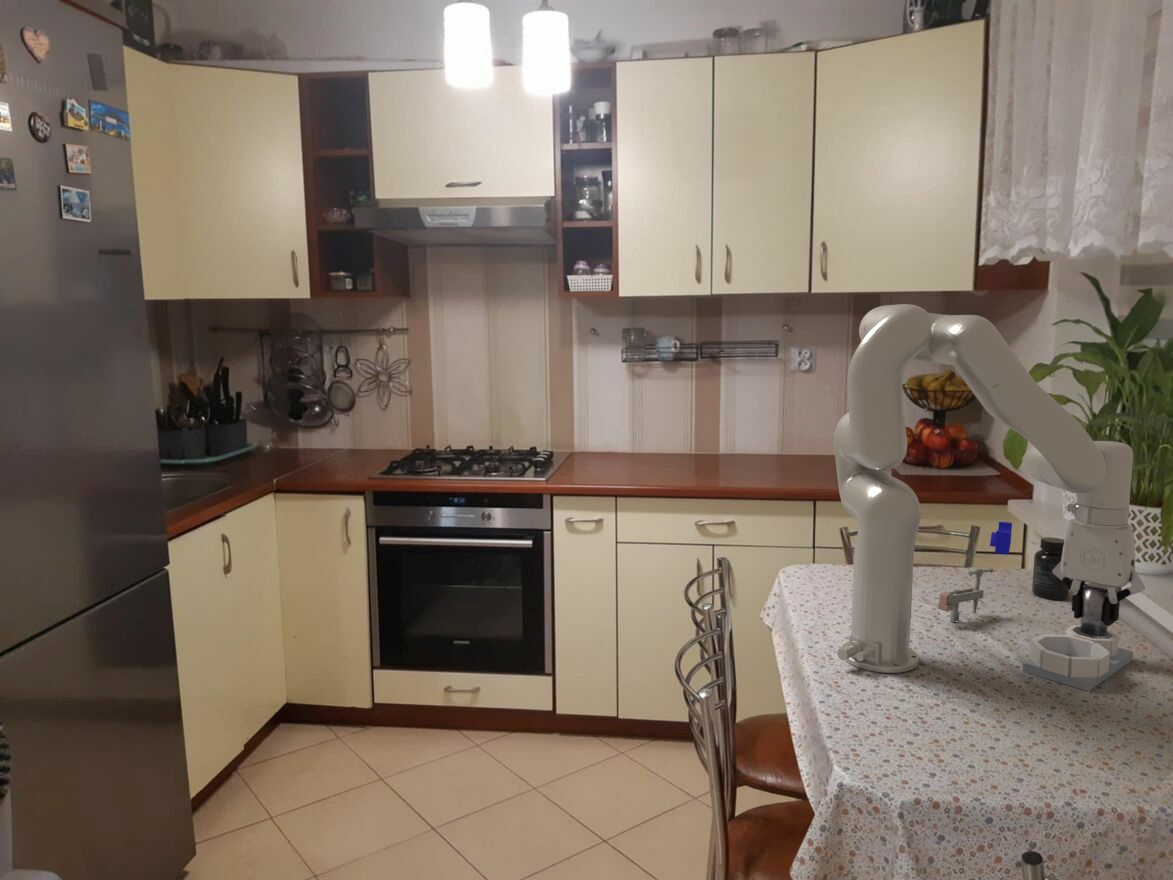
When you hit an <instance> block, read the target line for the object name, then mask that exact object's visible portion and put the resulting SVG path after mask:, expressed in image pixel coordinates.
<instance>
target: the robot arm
mask: <svg viewBox="0 0 1173 880" xmlns="http://www.w3.org/2000/svg"><path fill="white" fill-rule="evenodd" d="M858 333H859V339H860V343H859V345H858V347H856V350H855V351H854V354H853V355H852V358H851V361H850V363H849V367H848V372H847V399H848V401H847V403H848V404H847V405H848V412H847V413H845V414H844V415H843V416H842V417H841V418H840V419H839V421H838V423H837V424H836V427H835V430H834V434H833V435H834V437H833V451H834V459H835V465H836V466H835V467H836V468H835V469H836V476H837V477H836V479H837V484H838V491H839V493H838V494H839V499H840V501H841V503H842V507H843V508H844V510H845V511H846V513H848V514H849V516H851V517H852V518H853V519H855V520H857V522H858V528H857V529H858V530H857V535H856V539H855V544H854V548H853V560H852V561H853V563H852V564H853V565H852V569H853V573H852V575H853V576H852V598H851V599H852V603H851V626H850V635H849V639H848V641H847V642H845V643H844V644H842V645H841V647H840V648H839V649H837V652H836V653H837V654H836V655H837V658H839V660H840V661H845V662H846V663H848V664H849V665H852V666H853V667H855V668H859V669H862V670H865V671H870V672H875V673H883V674H896V673H897V674H898V673H899V674H900V673H906V672H910V671H912V670H914V669H917V667H918V665H919V660H920V659H919V657H920V656H919V654H918V653H917V652H916V651H915V650H914V649H912V648H910V644H911V643H910V641H911V623H912V621H911V620H912V599H913V581H914V561H915V560H914V557H915V547H916V541H917V535H918V532H919V527H920V523H921V505H920V501H919V499H918V496H917V494H916V493H915V492H914V490H913V489H912V488H911V487H910V485H908V484H906V483H905V482H904V481H902V480H900V479H898V478H896V477H894V476H893V475H892V469H895V468H896V467H898V466H899V465H900V464H901V463H902V462H903V461H904V459H905V457H906V455H907V453H908V452H907V451H908V435H907V428H906V418H905V408H904V399H903V394H904V393H903V381H904V376H905V373H906V369H907V367H908V366H909V365H910V363H911V362H912V361H917V362H923V363H932V364H941V365H949V366H953V368H954V369H955V370H956V372H957V373H958V375H959V376H960V378H962V380H963V381H964V382H965V384H966V385H967V387H968V388H969V389H970V391H971V392H972V393H973V395H974V396H975V398H976V399H977V400H978V401H979V403H980V404H981V405H982V407H983V409H984V410H985V411H986V412H987V414H989V415H990V416H992V417H993V418H994V419H995V420H997V422H999V423H1001V424H1002V425H1004V426H1006V427H1008V428H1010V429H1011V430H1013V431H1014V432H1016V433H1017V434H1019V435H1021V437H1023V438H1024V439H1025V440H1027V442H1029V443H1030V444H1031V446H1030V447H1029V448H1027V450H1026V452H1025V455H1024V459H1023V465H1024V468H1025V470H1026V471H1027V473H1028V474H1029V475H1030V476H1031V477H1032V478H1033V479H1034V480H1036V481H1038V482H1040V483H1042V484H1043V483H1044V484H1046V485H1049V486H1052V487H1055V488H1058V489H1061V490H1064V491H1066V492H1070V493H1073V494H1076V502H1074V503H1068V504H1067V506H1066V511H1067V512H1071V513H1072V514H1074V515H1073V517H1074V518H1071V519H1069V521H1068V524H1067V529H1066V533H1065V536H1064V546H1063V551H1062V558H1061V561H1060V563H1059V564H1058V565H1057V566H1056V567H1055V568H1054V569H1053V570H1052V572H1053V574H1054V575H1056V576H1057V577H1058V578H1059V579H1060V580H1062V581H1063V583H1064V584H1065V585H1066V586H1067V587H1068V589H1069V594H1071V595H1072V600H1071V602H1072V603H1071V611H1072V612H1073V618H1074V619H1077V620H1078V619H1081V608H1082V593H1083V584H1086V583H1094V584H1099V585H1103V586H1107V588H1108V595H1109V599H1108V602H1106V603H1105V614H1104V624H1105V625H1106V626H1108V627H1110V626H1113V624H1114V623H1116V622H1117V621H1118V620H1119V619H1120V618H1119V616H1120V605H1121V604H1120V603H1121V601H1122V600H1125V599H1126V598H1128V597H1129V596H1133V595H1136V594H1138V593H1141V592H1143V591H1145V590H1146V585H1145V584H1144V582H1143V581H1142V578H1140V575H1138V572H1137V571H1136V547H1135V545H1136V544H1135V536H1134V530H1133V526H1132V525H1130V524H1129V515H1130V514H1129V512H1130V502H1131V501H1130V500H1131V498H1130V497H1131V487H1132V485H1131V484H1132V476H1133V475H1132V473H1133V461H1134V460H1133V459H1134V457H1133V455H1134V453H1133V449H1132V447H1131V446H1130V445H1129V444H1126V443H1123V442H1119V441H1111V440H1093V439H1092V438H1091V436H1090V435H1089V433H1088V432H1087V431H1086V429H1085V428H1084V427H1083V426H1082V424H1081V423H1080V422H1079V421H1078V420H1077V419H1076V418H1075V416H1073V415H1072V414H1071V413H1070V412H1069V411H1068V410H1067V409H1066V408H1065V407H1063V406H1062V405H1061V404H1060V403H1059V402H1057V401H1056V400H1055V398H1054V397H1052V396H1051V394H1049V393H1048V392H1047V391H1045V390H1044V389H1043V388H1042V387H1041V386H1040V385H1039V384H1038V383H1037V382H1036V380H1034V378H1033V376H1031V374H1030V373H1029V372H1028V370H1027V369H1026V368H1025V366H1024V364H1023V363H1022V362H1021V360H1020V359H1019V358H1018V356H1017V355H1016V353H1015V352H1014V350H1012V348H1011V347H1010V345H1009V344H1008V342H1007V340H1005V338H1004V337H1003V336H1002V335H1001V333H1000V332H999V330H998V329H997V328H996V326H995V325H994V324H993V323H992V322H991V321H990V320H989V319H987V318H985V317H983V316H980V315H976V314H954V315H953V314H939V313H931V312H928V311H927V310H926V309H925V308H922V307H921V306H918V305H915V304H910V303H909V304H908V303H900V304H899V303H898V304H887V305H880V306H877V307H875V308H873V309H871V310H870V311H868V312H867V313H866V314H865V315H864V316H863V318H862V320H861V321H860V324H859V329H858ZM1129 583H1130V584H1131V585H1130V586H1127V587H1126V588H1123V587H1125V586H1126V585H1128V584H1129Z"/></svg>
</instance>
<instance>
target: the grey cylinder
mask: <svg viewBox="0 0 1173 880" xmlns="http://www.w3.org/2000/svg"><path fill="white" fill-rule="evenodd" d="M1108 599H1109V595H1108V588H1107V586H1103V585H1099V584H1094V583H1089V582H1086V584H1083V593H1082V608H1081V618H1080V624H1079V625H1080V631H1081V632H1082V633H1084V634H1087V635H1091V636H1106V635H1107V632H1108V630H1109V626H1106V625H1105V624H1104V614H1105V603H1106V602H1108Z"/></svg>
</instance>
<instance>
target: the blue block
mask: <svg viewBox="0 0 1173 880" xmlns="http://www.w3.org/2000/svg"><path fill="white" fill-rule="evenodd" d="M1012 529H1013V522H1010V521H1007V522H1006V521H998V528H997V530H996V532H994V531H993V532H991V535H990V542H989V547H994V554H1001V555H1009V553H1010V547H1011V544H1012V533H1013V532H1012Z"/></svg>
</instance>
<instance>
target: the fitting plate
mask: <svg viewBox="0 0 1173 880" xmlns="http://www.w3.org/2000/svg"><path fill="white" fill-rule="evenodd" d="M1065 630H1066V631H1065V634H1049V633H1048V634H1039V635H1037V636H1036V637H1033V638H1032V639H1030V645H1029V658H1028V659H1027V660H1025V661H1023V662H1022V672H1024V673H1027V674H1030V675H1033V676H1036V677H1041V678H1043V679H1047V680H1050V681H1053V682H1056V683H1059V684H1062V685H1067V686H1068V687H1069V686H1070V687H1073V688H1076V689H1078V690H1079V689H1080V690H1083V691H1086V692H1090V691H1091V690H1093V689H1094V688H1096V687H1097V686H1098V685H1100V684H1101V683H1102V682H1104V681H1105V680H1107V679H1109V678H1110V677H1111V676H1112V675H1113V674H1115V673H1116V672H1118V671H1120V670H1121V669H1122V668H1123V667H1125V666H1126V665H1127V664H1129V663H1131V662H1132V661H1133V660H1134V651H1133V650H1131V649H1130V650H1129V649H1126V648H1122V647H1119V639H1120V638H1119V635H1118V634H1116V633H1115V632H1113V630H1109V629H1108V632H1107V635H1106V636H1091V635H1087V634H1084V633H1082V632H1081V631H1080V624H1074V625H1073V624H1072V625H1070V626H1068V627H1066V629H1065Z"/></svg>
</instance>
